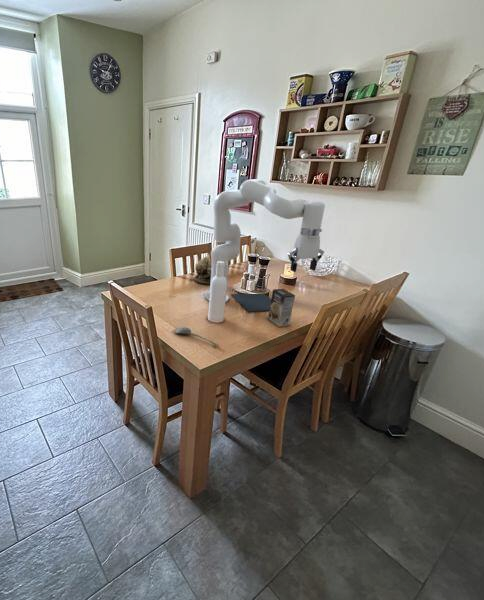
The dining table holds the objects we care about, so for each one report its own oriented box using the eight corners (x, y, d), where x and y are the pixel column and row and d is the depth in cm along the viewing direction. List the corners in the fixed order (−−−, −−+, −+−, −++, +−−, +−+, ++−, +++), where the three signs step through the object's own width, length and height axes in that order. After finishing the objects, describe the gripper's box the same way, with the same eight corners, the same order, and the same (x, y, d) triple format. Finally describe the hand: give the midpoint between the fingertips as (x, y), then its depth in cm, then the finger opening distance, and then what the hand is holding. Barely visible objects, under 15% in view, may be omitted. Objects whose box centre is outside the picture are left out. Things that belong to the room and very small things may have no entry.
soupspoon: (180, 329, 156) (172, 334, 152) (180, 323, 155) (171, 328, 150) (220, 343, 143) (212, 350, 138) (220, 337, 141) (212, 343, 137)
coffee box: (267, 318, 166) (272, 289, 160) (278, 317, 168) (283, 288, 161) (278, 327, 158) (284, 296, 152) (289, 325, 160) (295, 294, 153)
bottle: (205, 317, 167) (209, 260, 155) (218, 314, 170) (223, 258, 158) (212, 323, 160) (217, 265, 148) (226, 321, 163) (232, 263, 151)
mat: (248, 312, 173) (248, 311, 173) (231, 295, 194) (231, 294, 194) (283, 309, 176) (283, 308, 176) (262, 293, 198) (262, 292, 198)
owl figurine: (221, 283, 213) (224, 257, 206) (210, 287, 206) (212, 261, 199) (200, 276, 225) (202, 252, 218) (189, 279, 218) (190, 255, 211)
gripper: (321, 229, 144) (314, 266, 151) (286, 231, 141) (280, 269, 147) (333, 233, 138) (325, 271, 144) (297, 234, 134) (290, 274, 141)
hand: (302, 270), depth 146 cm, fingers open, 9 cm apart
